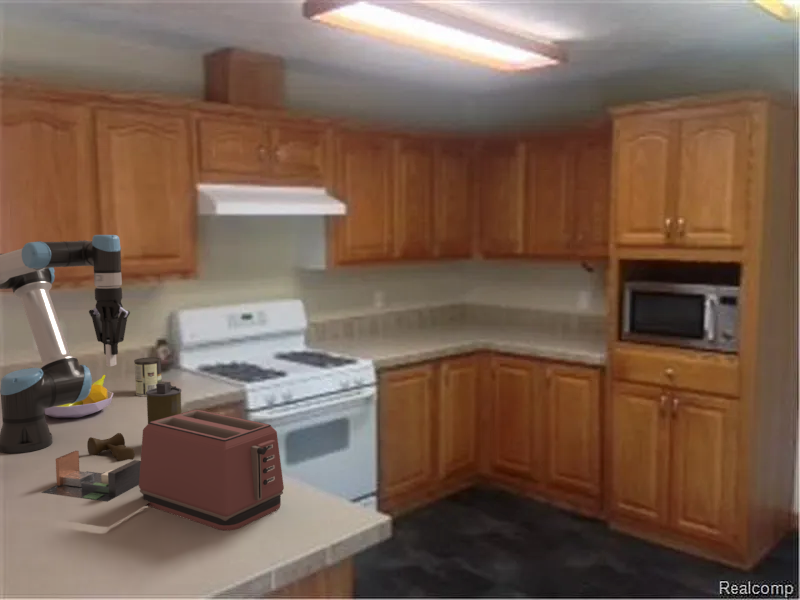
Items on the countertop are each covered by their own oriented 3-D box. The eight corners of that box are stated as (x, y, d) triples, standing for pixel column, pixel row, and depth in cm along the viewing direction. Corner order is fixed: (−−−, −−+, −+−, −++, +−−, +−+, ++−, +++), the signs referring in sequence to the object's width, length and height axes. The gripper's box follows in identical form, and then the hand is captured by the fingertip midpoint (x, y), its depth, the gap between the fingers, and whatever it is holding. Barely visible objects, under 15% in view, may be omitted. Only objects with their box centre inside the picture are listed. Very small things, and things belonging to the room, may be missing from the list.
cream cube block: (101, 489, 180) (101, 474, 179) (112, 484, 183) (111, 469, 183) (115, 491, 178) (114, 476, 178) (125, 486, 182) (124, 470, 182)
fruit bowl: (58, 427, 239) (57, 395, 238) (20, 414, 255) (19, 384, 254) (133, 410, 261) (132, 380, 260) (94, 399, 277) (93, 371, 276)
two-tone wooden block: (56, 485, 182) (55, 458, 181) (76, 476, 188) (75, 450, 188) (77, 488, 180) (76, 461, 179) (96, 479, 187) (95, 452, 186)
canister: (172, 451, 213) (170, 387, 211) (141, 449, 216) (138, 385, 213) (190, 441, 224) (188, 379, 222) (160, 439, 226) (157, 377, 224)
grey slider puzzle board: (41, 496, 178) (39, 469, 177) (86, 475, 193) (85, 450, 192) (107, 506, 172) (106, 477, 171) (149, 483, 187) (148, 457, 186)
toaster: (234, 536, 156) (232, 446, 154) (137, 503, 174) (133, 422, 172) (292, 507, 172) (291, 425, 170) (197, 480, 190) (195, 405, 188)
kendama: (110, 470, 199) (81, 452, 213) (142, 462, 206) (112, 446, 220) (110, 449, 199) (81, 433, 213) (143, 442, 206) (112, 427, 220)
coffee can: (151, 389, 295) (149, 356, 293) (167, 392, 289) (166, 358, 288) (130, 394, 286) (128, 360, 285) (146, 397, 281) (145, 362, 279)
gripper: (80, 287, 207) (84, 366, 210) (118, 288, 203) (121, 369, 206) (98, 285, 214) (102, 361, 217) (135, 286, 211) (138, 364, 213)
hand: (111, 365), depth 211 cm, fingers closed
